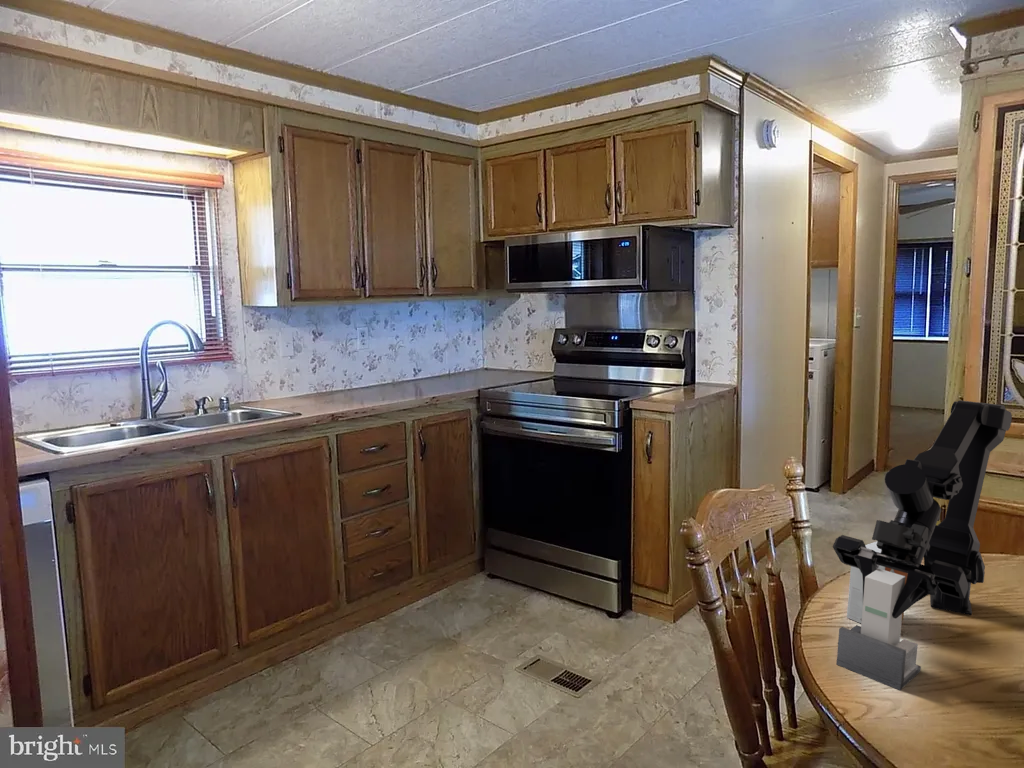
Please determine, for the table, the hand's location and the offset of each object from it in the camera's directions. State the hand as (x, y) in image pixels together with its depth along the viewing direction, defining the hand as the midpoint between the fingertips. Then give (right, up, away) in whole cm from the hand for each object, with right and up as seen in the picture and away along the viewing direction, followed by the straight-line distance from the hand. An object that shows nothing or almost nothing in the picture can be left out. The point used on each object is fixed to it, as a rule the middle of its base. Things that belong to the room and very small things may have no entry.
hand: (878, 612), depth 110 cm
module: (+1, -6, +2) cm, 7 cm away
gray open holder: (+1, -9, +2) cm, 10 cm away
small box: (+9, -7, +18) cm, 21 cm away
